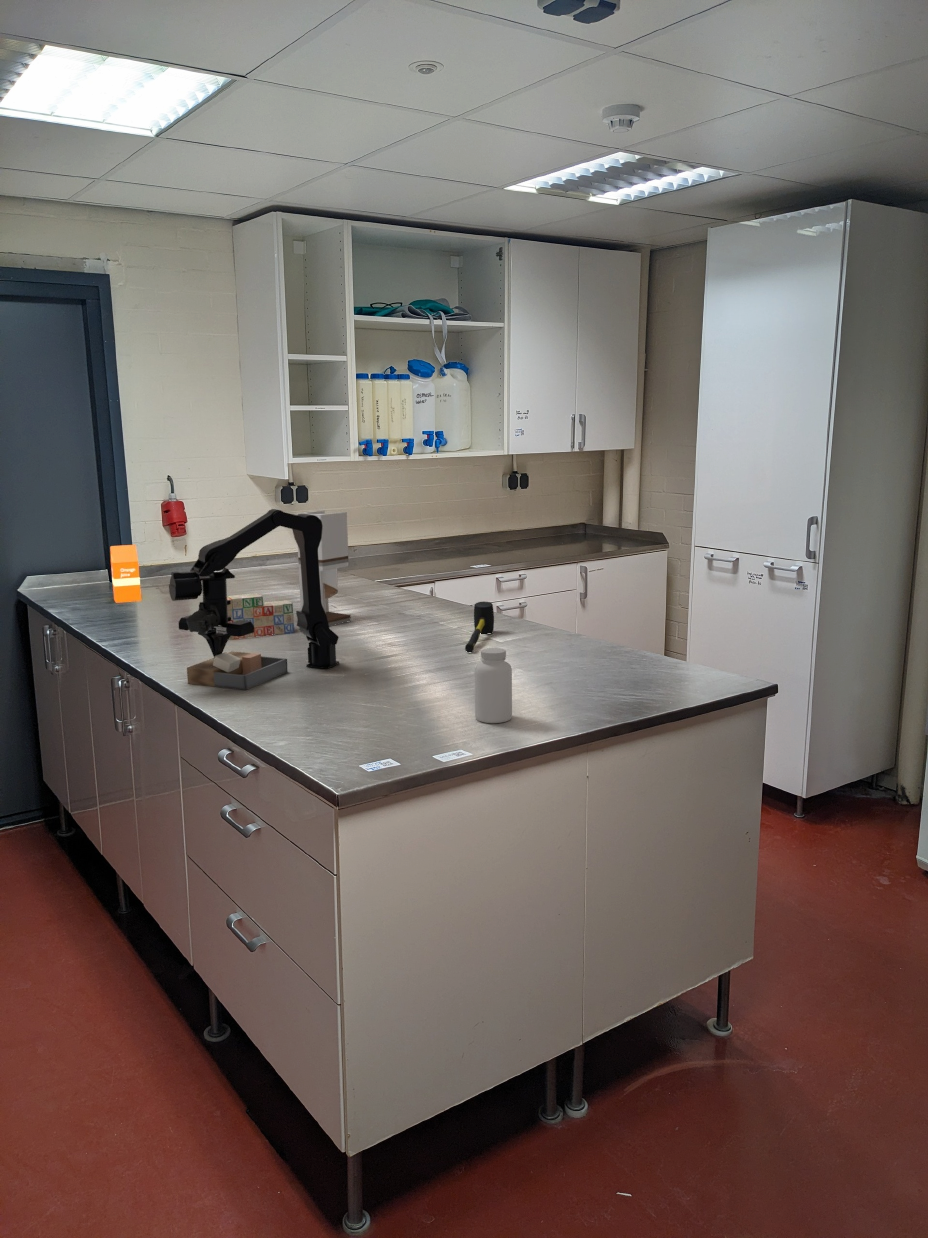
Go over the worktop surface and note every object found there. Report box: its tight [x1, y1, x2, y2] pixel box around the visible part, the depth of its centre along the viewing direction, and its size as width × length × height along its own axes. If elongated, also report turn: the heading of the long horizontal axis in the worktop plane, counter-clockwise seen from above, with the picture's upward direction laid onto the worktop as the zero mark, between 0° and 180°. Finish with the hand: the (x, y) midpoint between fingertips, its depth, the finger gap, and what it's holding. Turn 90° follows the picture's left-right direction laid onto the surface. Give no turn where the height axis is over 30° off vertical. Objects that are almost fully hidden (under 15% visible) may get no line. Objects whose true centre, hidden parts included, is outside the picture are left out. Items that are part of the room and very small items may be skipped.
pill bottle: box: [473, 647, 513, 724], centre depth 200 cm, size 8×8×15 cm
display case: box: [295, 510, 352, 627], centre depth 298 cm, size 11×11×35 cm
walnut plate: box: [186, 650, 252, 688], centre depth 238 cm, size 8×18×4 cm, turn 157°
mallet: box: [464, 601, 495, 653], centre depth 272 cm, size 29×6×10 cm, turn 170°
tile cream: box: [213, 651, 241, 672], centre depth 231 cm, size 4×4×2 cm
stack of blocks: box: [219, 592, 295, 641], centre depth 284 cm, size 21×6×12 cm, turn 116°
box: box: [214, 655, 289, 691], centre depth 234 cm, size 9×18×4 cm, turn 157°
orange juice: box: [110, 544, 142, 604], centre depth 342 cm, size 8×9×20 cm
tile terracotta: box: [242, 652, 262, 675], centre depth 239 cm, size 4×4×2 cm
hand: (217, 659), depth 232 cm, fingers closed
